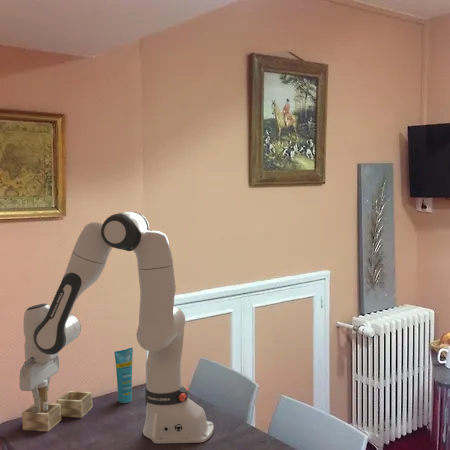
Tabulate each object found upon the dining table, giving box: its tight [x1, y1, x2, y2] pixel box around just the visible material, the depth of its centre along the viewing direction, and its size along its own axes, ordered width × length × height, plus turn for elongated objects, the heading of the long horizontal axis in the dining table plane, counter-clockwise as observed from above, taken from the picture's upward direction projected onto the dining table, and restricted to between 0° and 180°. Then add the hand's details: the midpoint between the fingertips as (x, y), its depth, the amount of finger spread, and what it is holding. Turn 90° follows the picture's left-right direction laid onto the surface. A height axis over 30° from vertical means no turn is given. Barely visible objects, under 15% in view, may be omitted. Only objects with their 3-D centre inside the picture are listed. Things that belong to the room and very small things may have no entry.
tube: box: [113, 347, 134, 404], centre depth 214 cm, size 7×5×19 cm, turn 134°
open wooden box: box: [56, 390, 93, 419], centre depth 205 cm, size 9×9×6 cm
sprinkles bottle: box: [33, 380, 49, 413], centre depth 194 cm, size 5×5×14 cm
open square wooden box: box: [21, 402, 62, 432], centre depth 195 cm, size 9×9×6 cm
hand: (41, 394), depth 194 cm, fingers closed on sprinkles bottle, 4 cm apart
